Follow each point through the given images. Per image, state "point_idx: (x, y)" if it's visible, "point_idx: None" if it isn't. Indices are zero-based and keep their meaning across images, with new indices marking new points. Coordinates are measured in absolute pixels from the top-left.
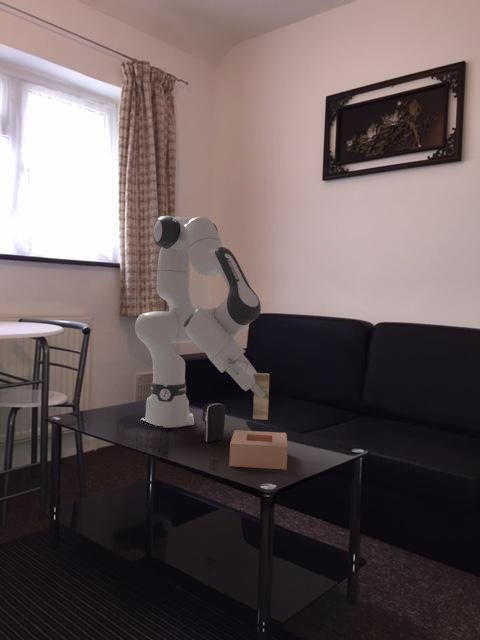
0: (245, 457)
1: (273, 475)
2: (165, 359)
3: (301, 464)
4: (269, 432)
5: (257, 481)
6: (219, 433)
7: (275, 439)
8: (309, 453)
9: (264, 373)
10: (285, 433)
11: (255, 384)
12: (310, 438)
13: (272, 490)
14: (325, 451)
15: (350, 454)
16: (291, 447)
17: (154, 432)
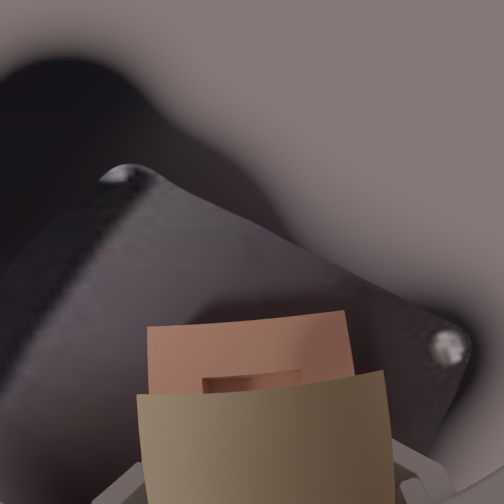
0: None
1: (383, 352)
2: None
3: (265, 292)
4: (156, 390)
5: (433, 377)
6: None
7: (260, 361)
8: (151, 273)
9: (154, 474)
10: (156, 329)
11: (444, 481)
12: (23, 271)
13: (465, 333)
14: (127, 234)
15: (147, 183)
16: (100, 323)
17: None
